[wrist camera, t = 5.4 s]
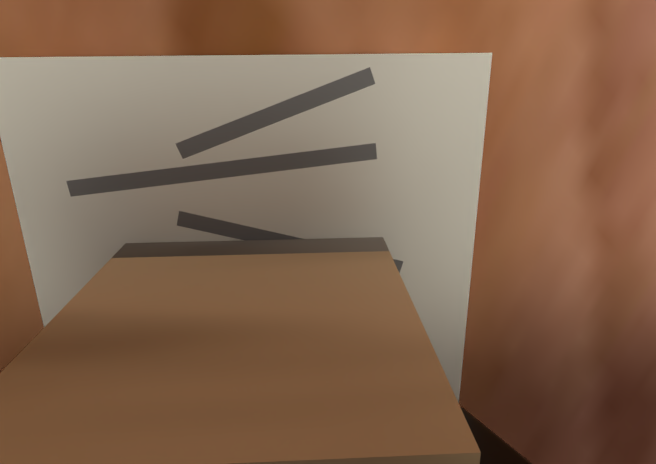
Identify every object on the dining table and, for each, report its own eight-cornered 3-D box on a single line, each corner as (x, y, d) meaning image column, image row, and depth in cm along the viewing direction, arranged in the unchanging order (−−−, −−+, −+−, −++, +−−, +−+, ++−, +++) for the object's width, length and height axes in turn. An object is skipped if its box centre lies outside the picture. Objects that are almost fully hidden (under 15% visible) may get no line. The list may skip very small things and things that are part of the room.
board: (431, 520, 11) (442, 563, 10) (119, 536, 11) (102, 581, 10) (470, 53, 8) (491, 52, 7) (22, 57, 8) (-19, 58, 7)
